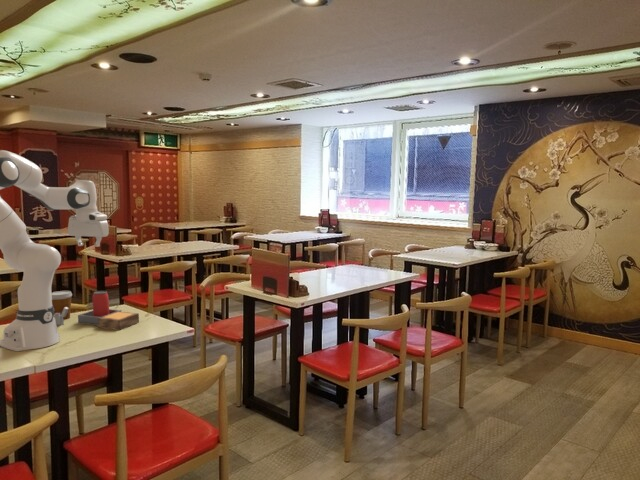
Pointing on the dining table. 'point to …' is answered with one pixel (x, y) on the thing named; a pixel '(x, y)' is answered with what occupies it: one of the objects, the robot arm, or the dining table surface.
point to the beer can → (100, 303)
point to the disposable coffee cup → (62, 302)
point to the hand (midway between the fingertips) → (88, 246)
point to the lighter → (60, 316)
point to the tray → (91, 317)
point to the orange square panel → (118, 315)
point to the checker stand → (118, 321)
